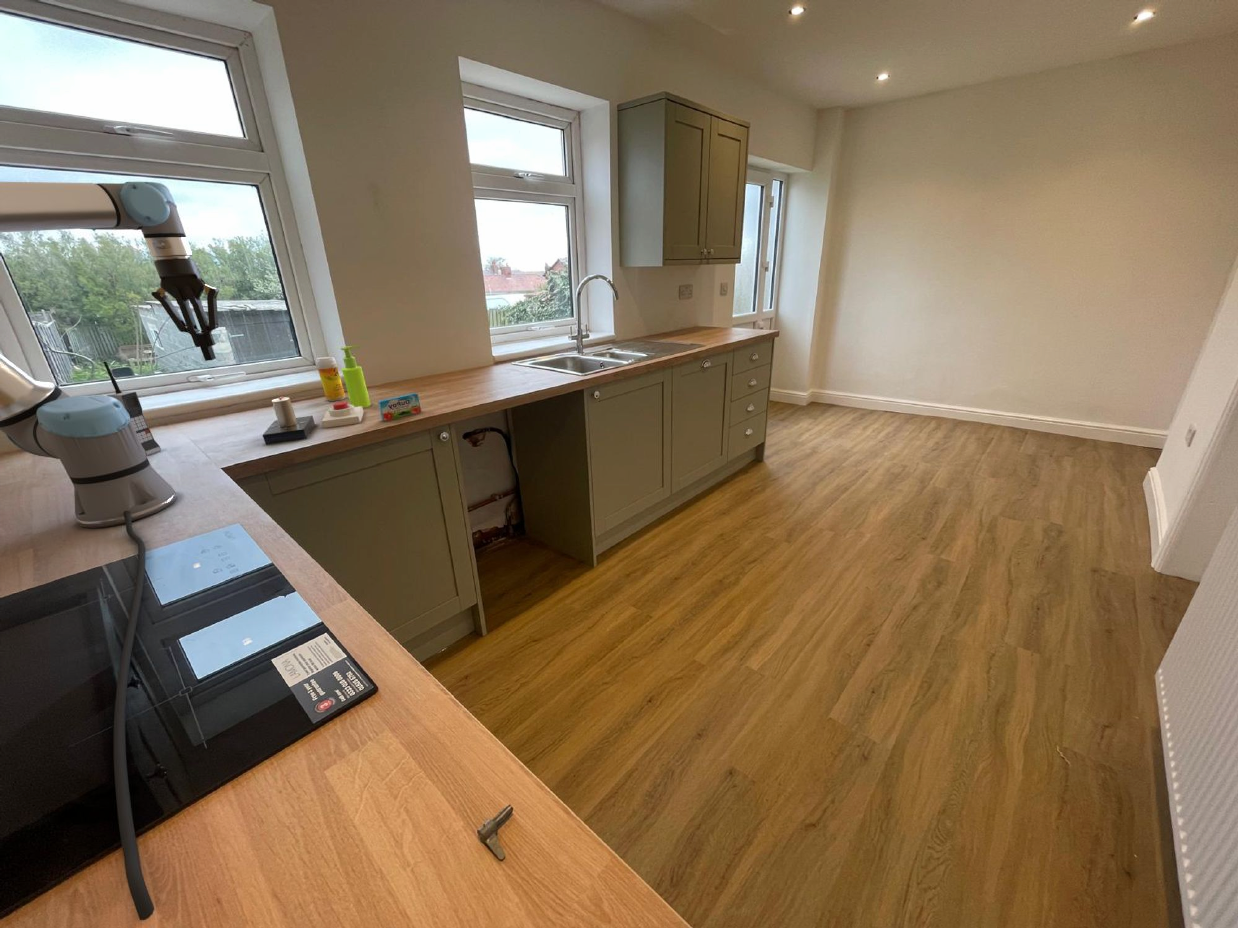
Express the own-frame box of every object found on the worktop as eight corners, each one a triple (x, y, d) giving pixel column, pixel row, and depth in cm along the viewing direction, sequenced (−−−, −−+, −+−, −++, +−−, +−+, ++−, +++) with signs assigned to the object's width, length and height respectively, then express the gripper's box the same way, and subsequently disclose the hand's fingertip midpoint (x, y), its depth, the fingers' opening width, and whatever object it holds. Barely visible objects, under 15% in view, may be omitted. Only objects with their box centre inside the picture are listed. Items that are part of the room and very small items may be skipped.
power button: (347, 409, 154) (346, 404, 153) (333, 411, 153) (331, 406, 152) (349, 406, 157) (347, 401, 157) (335, 408, 156) (333, 402, 155)
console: (306, 439, 141) (303, 428, 140) (265, 445, 138) (262, 434, 137) (315, 424, 153) (312, 415, 152) (277, 430, 150) (274, 420, 149)
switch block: (360, 423, 153) (356, 410, 151) (323, 428, 150) (319, 415, 148) (363, 412, 163) (360, 400, 162) (329, 417, 160) (326, 405, 158)
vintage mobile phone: (147, 455, 134) (105, 363, 124) (133, 455, 135) (90, 363, 125) (162, 450, 138) (122, 359, 128) (147, 449, 139) (106, 359, 129)
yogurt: (384, 421, 153) (379, 402, 151) (382, 420, 154) (377, 401, 151) (421, 412, 161) (417, 393, 158) (419, 411, 162) (415, 392, 159)
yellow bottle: (340, 401, 178) (328, 359, 172) (323, 402, 178) (311, 359, 172) (348, 396, 183) (337, 355, 177) (332, 397, 183) (321, 356, 177)
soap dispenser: (377, 404, 172) (362, 345, 164) (358, 409, 166) (342, 349, 159) (367, 402, 175) (352, 344, 167) (348, 407, 169) (332, 348, 162)
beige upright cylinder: (295, 425, 143) (287, 399, 140) (278, 428, 142) (269, 401, 139) (298, 421, 147) (290, 395, 144) (281, 423, 146) (273, 397, 142)
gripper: (131, 259, 111) (173, 365, 121) (200, 256, 115) (236, 359, 125) (146, 259, 118) (185, 359, 127) (212, 257, 122) (245, 354, 131)
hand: (210, 359), depth 126 cm, fingers closed
